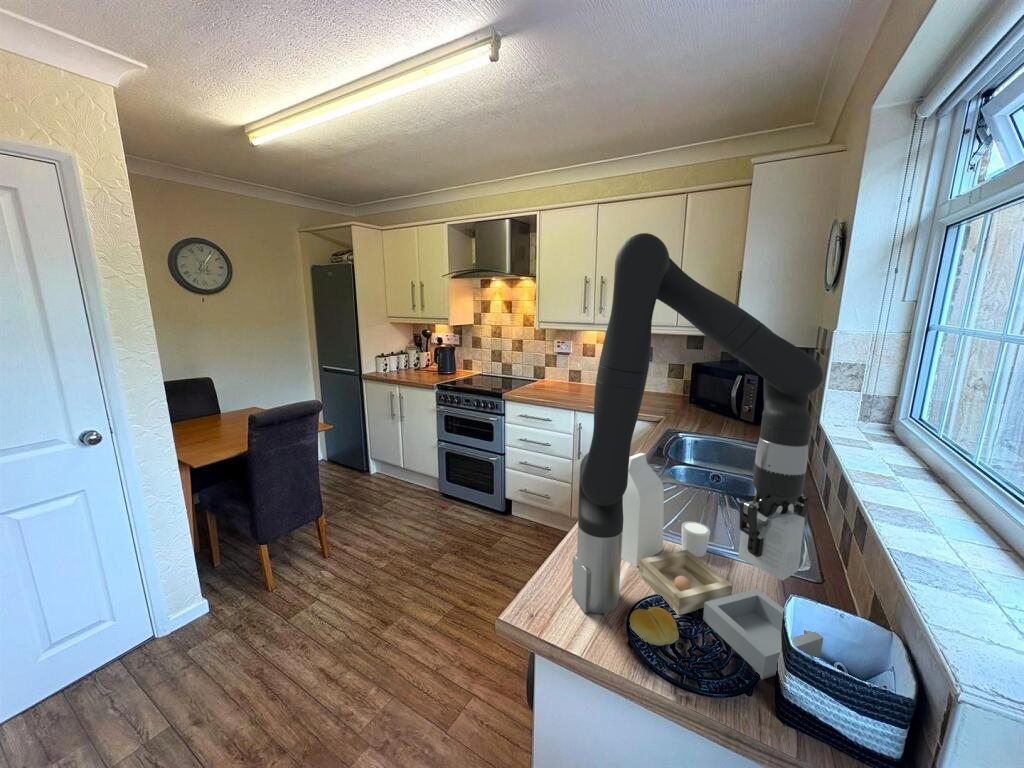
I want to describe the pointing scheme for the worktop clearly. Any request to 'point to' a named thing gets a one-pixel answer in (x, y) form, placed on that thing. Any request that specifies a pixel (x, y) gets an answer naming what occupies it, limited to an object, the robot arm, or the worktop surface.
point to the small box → (777, 546)
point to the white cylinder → (695, 538)
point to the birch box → (684, 563)
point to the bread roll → (654, 626)
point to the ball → (682, 583)
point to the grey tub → (755, 629)
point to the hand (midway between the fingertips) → (768, 551)
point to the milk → (642, 512)
